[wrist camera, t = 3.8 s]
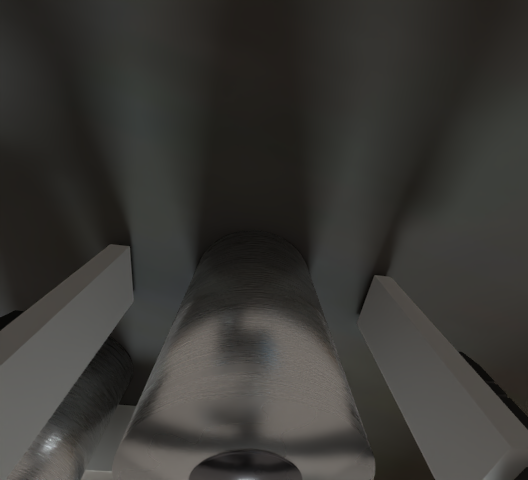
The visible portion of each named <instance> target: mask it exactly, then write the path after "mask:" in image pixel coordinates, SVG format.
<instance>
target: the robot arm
mask: <svg viewBox="0 0 528 480" xmlns="http://www.w3.org/2000/svg"><path fill="white" fill-rule="evenodd" d="M133 302H134V297H133V283H132V269H131V255H130V246H123V245H114V244H110V245H109V246H107V247H106V248H105V249H104V250H102V251H101V252H100V253H98V254H97V255H96V256H95V257H93V258H92V259H91V260H90V261H88V262H87V263H86V264H85V265H83V266H82V267H81V268H79V269H78V270H77V271H76V272H74V273H73V274H72V275H71V276H69V277H68V278H67V279H65V280H64V281H63V282H62V283H60V284H59V285H58V286H57V287H55V288H54V289H53V290H51V291H50V292H49V293H48V294H46V295H45V296H44V297H43V298H41V299H40V300H39V301H37V302H36V303H35V304H34V305H32V306H31V307H30V308H29V309H27V310H26V311H13V312H11V313H9V314H7V315H5V316H3V317H0V480H6V479H7V477H8V476H9V475H10V473H11V472H12V470H13V469H14V468H15V466H16V465H17V463H18V462H19V461H20V459H21V458H22V456H23V455H24V454H25V452H26V451H27V449H28V448H29V447H30V445H31V444H32V442H33V441H34V440H35V438H36V437H37V435H38V434H39V433H40V431H41V430H42V429H43V427H44V426H45V424H46V423H47V422H48V420H49V419H50V417H51V416H52V415H53V413H54V412H55V410H56V409H57V408H58V406H59V405H60V403H61V402H62V401H63V399H64V398H65V396H66V395H67V394H68V392H69V391H70V389H71V388H72V387H73V385H74V384H75V382H76V381H77V380H78V378H79V377H80V375H81V374H82V373H83V371H84V370H85V369H86V367H87V366H88V364H89V363H90V362H91V360H92V359H93V357H94V356H95V355H96V353H97V352H98V350H99V349H100V348H101V346H102V345H103V343H104V342H105V341H106V339H107V338H108V336H109V335H110V334H111V332H112V331H113V329H114V328H115V327H116V325H117V324H118V322H119V321H120V320H121V318H122V317H123V315H124V314H125V313H126V311H127V310H128V308H129V307H130V306H131V304H132V303H133ZM357 326H358V327H359V329H360V331H361V333H362V335H363V337H364V339H365V341H366V343H367V345H368V347H369V349H370V351H371V353H372V355H373V357H374V359H375V361H376V363H377V365H378V367H379V369H380V371H381V373H382V375H383V377H384V379H385V381H386V383H387V385H388V387H389V389H390V391H391V393H392V395H393V397H394V399H395V401H396V403H397V405H398V407H399V409H400V411H401V413H402V415H403V417H404V419H405V421H406V423H407V425H408V427H409V429H410V431H411V433H412V435H413V437H414V439H415V441H416V443H417V445H418V447H419V449H420V451H421V452H422V454H423V456H424V458H425V460H426V462H427V464H428V466H429V468H430V470H431V472H432V474H433V476H434V478H435V480H528V417H527V416H526V415H525V414H524V412H523V411H522V410H521V409H520V408H519V407H518V406H517V405H516V404H515V403H514V402H513V401H512V400H511V399H510V398H507V394H506V393H505V392H504V391H503V390H502V389H501V388H500V387H499V386H498V385H497V384H495V383H494V380H493V379H492V378H491V377H490V376H489V375H488V374H487V373H486V372H485V371H484V370H483V369H482V367H481V366H480V365H478V364H477V363H476V362H474V361H473V360H472V359H470V358H469V357H468V356H466V355H465V354H464V353H463V352H458V351H457V350H456V349H455V348H454V347H453V346H452V345H451V343H450V342H449V341H448V340H447V339H446V338H445V337H444V336H443V335H442V333H441V332H440V331H439V330H438V329H437V328H436V327H435V326H434V324H433V323H432V322H431V321H430V320H429V319H428V318H427V317H426V316H425V314H424V313H423V312H422V311H421V310H420V309H419V308H418V307H417V305H416V304H415V303H414V302H413V301H412V300H411V299H410V298H409V297H408V295H407V294H406V293H405V292H404V291H403V290H402V289H401V288H400V286H399V285H398V284H397V283H396V282H395V281H394V280H393V279H392V277H387V276H379V275H374V278H373V280H372V283H371V286H370V288H369V291H368V294H367V297H366V299H365V302H364V305H363V308H362V310H361V313H360V316H359V318H358V321H357Z"/></svg>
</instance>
